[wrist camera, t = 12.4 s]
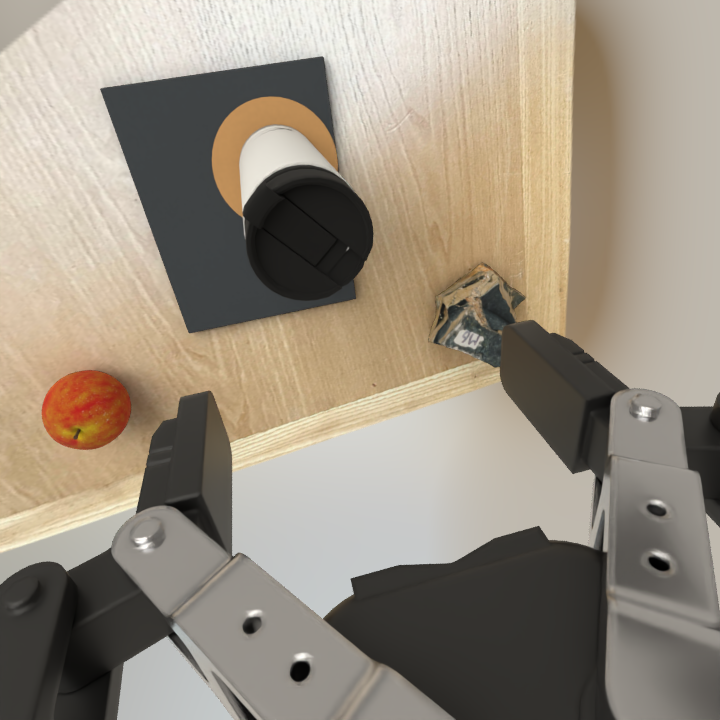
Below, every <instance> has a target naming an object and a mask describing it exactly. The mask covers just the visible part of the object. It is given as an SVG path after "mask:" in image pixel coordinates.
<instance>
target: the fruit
mask: <svg viewBox="0 0 720 720" xmlns="http://www.w3.org/2000/svg"><path fill="white" fill-rule="evenodd" d="M130 413H131V402H130V397H129V395H128V392H127V390H126V389H125V387H124V386H123V385H122V384H121V383H120V382H119V381H118V380H117V379H115V378H114V377H112V376H111V375H108V374H106V373H103V372H100V371H92V370H87V371H79V372H75V373H72V374H69V375H67V376H65V377H63V378H61V379H60V380H59V381H57V382H56V383H55V384H54V385H53V386H52V387H51V388H50V390H49V391H48V393H47V394H46V396H45V399H44V402H43V406H42V420H43V423H44V426H45V428H46V430H47V432H48V434H49V435H50V436H51V437H52V438H53V439H54V440H55V441H56V442H58V443H60V444H62V445H64V446H67V447H70V448H74V449H81V450H90V449H96V448H99V447H102V446H104V445H106V444H108V443H110V442H111V441H113V440H114V439H115V438H116V437H118V436H119V435H120V434H121V432H122V431H123V430H124V428H125V427H126V425H127V423H128V420H129V417H130Z"/></svg>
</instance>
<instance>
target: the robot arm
mask: <svg viewBox="0 0 720 720" xmlns="http://www.w3.org/2000/svg"><path fill="white" fill-rule="evenodd" d="M500 377H501V382H502V385H503V387H504V390H505V391H506V393H507V394H508V395H509V397H510V398H511V399H512V400H513V401H514V402H515V404H516V405H517V406H518V408H519V409H520V410H521V411H522V413H523V414H524V415H525V416H526V417H527V419H528V420H529V421H530V422H531V423H532V425H533V426H534V427H535V428H536V430H537V431H538V432H539V433H540V434H541V436H542V437H543V438H544V439H545V440H546V442H547V443H548V444H549V445H550V447H551V448H552V449H553V450H554V452H555V453H556V454H557V455H558V456H559V458H560V459H561V460H562V461H563V463H564V464H565V465H566V466H567V468H568V469H569V470H570V471H571V472H572V474H574V473H578V472H582V471H586V470H589V469H591V470H592V472H593V473H594V474H595V478H594V482H593V491H592V503H591V516H590V529H589V540H588V546H585V545H581V544H578V543H572V542H567V541H557V540H548V539H547V537H546V536H545V534H544V533H543V531H542V530H541V528H540V527H539V526H537V527H533V528H530V529H526V530H523V531H519V532H515V533H512V534H509V535H505V536H501V537H498V538H494V539H493V540H491V541H490V542H488V543H486V544H484V545H482V546H481V547H479V548H477V549H476V550H474V551H472V552H471V553H469V554H467V555H466V556H464V557H462V558H461V559H459V560H457V561H455V562H453V563H447V564H419V565H398V566H394V567H390V568H387V569H383V570H380V571H376V572H373V573H369V574H365V575H362V576H358V577H355V578H351V582H352V587H353V591H354V594H353V595H352V596H350V597H348V598H347V599H345V600H344V601H342V602H341V603H340V604H338V605H337V606H336V607H335V608H333V609H332V610H331V611H330V612H329V613H328V614H327V615H326V616H325V617H324V618H323V619H322V618H321V617H320V616H318V615H317V614H316V613H315V612H314V611H312V610H311V609H310V608H309V607H308V606H306V605H305V604H304V603H303V602H301V601H300V600H299V599H298V598H297V597H296V596H294V595H293V594H292V593H291V592H290V591H288V590H287V589H286V588H285V587H283V586H282V585H281V584H280V583H279V582H277V581H276V580H275V579H274V578H273V577H272V576H270V575H269V574H268V573H267V572H266V571H264V570H263V569H262V568H261V567H260V566H258V565H257V564H256V563H255V562H253V561H252V560H251V559H250V558H249V557H247V556H246V555H244V554H242V553H237V554H236V555H235V556H234V557H233V556H232V453H231V447H230V442H229V438H228V435H227V432H226V429H225V426H224V424H223V421H222V418H221V415H220V412H219V410H218V407H217V404H216V401H215V399H214V396H213V394H212V392H211V391H206V392H202V393H197V394H193V395H188V396H184V397H181V398H180V401H179V407H178V414H177V418H174V419H170V420H166V421H163V422H162V424H161V425H160V426H159V428H158V429H157V430H156V432H155V433H154V435H153V436H152V439H151V444H150V449H149V455H148V458H147V463H146V465H147V468H145V473H144V478H143V482H142V487H141V492H140V497H139V501H138V506H137V511H136V515H134V516H133V517H131V518H130V519H129V520H128V521H126V522H125V523H124V524H123V525H122V526H121V528H120V529H119V530H118V532H117V533H116V535H115V537H114V539H113V541H112V546H111V548H109V549H108V550H107V551H105V552H103V553H102V554H100V555H98V556H96V557H94V558H92V559H90V560H88V561H86V562H85V563H83V564H81V565H79V566H77V567H75V568H73V569H71V570H69V571H67V572H66V570H65V569H64V568H63V567H62V566H61V565H60V564H58V563H55V562H41V563H36V564H33V565H30V566H28V567H26V568H24V569H22V570H20V571H18V572H17V573H15V574H13V575H12V576H11V577H9V578H8V579H7V580H6V581H4V582H3V583H2V584H1V585H0V720H117V713H118V705H119V696H120V689H121V680H122V671H123V664H124V662H125V661H127V660H128V659H130V658H132V657H133V656H135V655H137V654H138V653H140V652H141V651H143V650H145V649H146V648H148V647H150V646H151V645H153V644H155V643H156V642H158V641H160V640H161V639H163V638H164V637H167V638H168V640H169V641H170V642H171V643H172V644H173V645H174V647H175V648H176V649H177V650H178V651H179V652H180V654H181V655H182V656H183V657H184V658H185V659H186V661H187V662H188V663H189V664H190V665H191V666H192V668H194V670H195V671H196V672H197V674H198V675H199V676H200V677H201V678H202V679H203V681H204V682H205V683H206V684H207V685H208V686H209V687H210V688H211V690H212V691H213V692H214V693H215V695H216V696H217V697H218V699H219V700H220V701H221V703H222V704H223V705H224V707H225V708H226V709H227V711H228V712H229V713H230V715H231V716H232V717H233V718H234V720H720V610H719V604H718V596H717V589H716V582H715V575H714V568H713V561H712V554H711V547H710V540H709V533H708V526H707V520H706V513H707V514H708V516H710V518H711V519H712V520H713V521H714V522H715V523H716V524H717V525H718V526H719V527H720V393H719V394H718V395H717V398H716V401H715V403H714V406H713V407H679V406H678V405H677V404H676V403H675V402H674V401H673V400H671V399H670V398H669V397H667V396H665V395H663V394H661V393H658V392H655V391H652V390H647V389H636V388H634V389H629V388H628V387H627V386H626V385H625V384H623V383H622V382H621V381H620V380H619V379H617V378H616V377H615V376H614V375H613V374H612V373H610V372H609V371H608V370H607V369H606V368H604V367H603V366H602V365H601V364H599V363H598V362H597V361H596V362H595V361H594V359H593V358H592V357H591V356H590V355H589V354H587V353H584V350H583V349H582V348H580V347H579V346H578V345H577V344H575V343H574V342H573V341H572V340H570V339H567V338H565V337H563V336H560V335H558V334H556V333H551V334H549V333H548V332H547V331H546V330H545V329H543V328H542V327H541V326H540V325H539V324H538V323H536V322H535V321H534V320H528V321H523V322H519V323H514V324H510V325H506V326H504V328H503V330H502V342H501V361H500Z"/></svg>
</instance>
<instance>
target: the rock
mask: <svg viewBox="0 0 720 720" xmlns="http://www.w3.org/2000/svg"><path fill="white" fill-rule="evenodd" d="M524 299H526V297H525V296H524V295H522V294H521V293H520V292H518V291H517V290H515V289H513V288H511V287H510V286H508V285H507V283H506V281H505V280H504V279H503V278H502V277H500V276H499V274H497V273H496V272H495V271H494V270H492V269H491V268H490V267H489V266H488V265H487V264H485V263H481V264H479V265H478V266H477V267H476V268H475V269H474V270H472V271H471V272H470V273H469V274H467V275H465V276H464V277H462V278H460V279H458V280H457V282H456V283H455V284H453V285H452V286H451V287H449V288H448V289H447V290H446V291H444V292H442V293H441V294H439V295H437V296H436V301H435V302H436V318H435V321H434V323H433V325H432V328H431V331H430V334H429V337H430V338H429V339H428V342H431V343H435V344H439V345H443V346H445V347H447V348H452V349H455V350H459V351H462V352H464V353H466V354H469V355H471V356H472V357H474V358H477V359H479V360H481V361H484V362H486V363H488V364H490V365H492V366H493V367H495V368H496V367H500V361H501V342H502V330H503V328H504V326H506V325H510V324H514V323H516V315H515V311H514V309H515V308H516V307H517V306H518V305H519V304H520V303H521V302H522V301H523V300H524Z"/></svg>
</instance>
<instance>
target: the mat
mask: <svg viewBox="0 0 720 720" xmlns="http://www.w3.org/2000/svg"><path fill="white" fill-rule="evenodd" d="M100 90H101V93H102V95H103V98H104V101H105V104H106V106H107V109H108V112H109V115H110V117H111V120H112V123H113V126H114V128H115V131H116V134H117V137H118V139H119V142H120V145H121V148H122V150H123V153H124V156H125V159H126V161H127V164H128V167H129V170H130V172H131V175H132V178H133V181H134V183H135V186H136V189H137V192H138V194H139V197H140V200H141V203H142V205H143V208H144V211H145V214H146V217H147V219H148V222H149V225H150V228H151V230H152V233H153V236H154V239H155V241H156V244H157V247H158V250H159V252H160V255H161V258H162V261H163V263H164V266H165V269H166V272H167V274H168V277H169V280H170V283H171V285H172V288H173V291H174V294H175V296H176V299H177V302H178V305H179V307H180V310H181V313H182V316H183V318H184V321H185V324H186V327H187V329H188V332H189V333H193V332H198V331H203V330H208V329H213V328H217V327H222V326H227V325H232V324H237V323H241V322H246V321H251V320H256V319H261V318H266V317H270V316H275V315H280V314H285V313H290V312H294V311H299V310H304V309H309V308H314V307H318V306H323V305H328V304H333V303H338V302H342V301H347V300H352V299H356V295H355V287H354V280H352V281H351V282H350V283H349V284H347V285H345V286H342V289H341V290H339V291H337V292H336V293H334V294H333V295H331V296H329V297H327V298H323V299H319V300H312V301H300V300H293V299H289V298H286V297H282V296H280V295H278V294H276V293H275V292H273V291H271V290H270V289H269V288H267V287H266V286H265V285H264V284H263V283H262V282H261V281H260V280H259V279H258V277H257V276H256V275H255V273H254V271H253V269H252V267H251V266H250V263H249V259H248V256H247V251H246V239H245V236H244V226H243V214H242V198H241V183H240V169H239V159H240V153H241V150H242V147H243V145H244V143H245V142H246V140H247V139H248V138H249V137H250V135H251V134H252V133H254V132H255V131H256V130H258V129H260V128H262V127H264V126H268V125H273V124H277V125H285V126H289V127H292V128H294V129H296V130H298V131H299V132H300V133H302V134H303V135H304V136H305V137H306V138H307V139H308V140H309V141H310V142H311V144H312V145H313V146H314V147H315V148H316V149H317V150H318V151H319V152H320V153H321V154H322V155H323V157H324V158H325V159H326V160H327V161H328V162H329V163H330V164H331V165H332V166H333V167H334V169H335V170H336V171H337V172H338V173H339V169H338V161H337V153H336V146H335V139H334V132H333V124H332V117H331V109H330V102H329V95H328V87H327V80H326V72H325V65H324V58H323V57H315V58H308V59H301V60H294V61H287V62H280V63H273V64H267V65H260V66H253V67H246V68H239V69H232V70H225V71H218V72H211V73H204V74H197V75H190V76H183V77H176V78H169V79H162V80H155V81H149V82H142V83H135V84H128V85H121V86H114V87H107V88H101V89H100Z"/></svg>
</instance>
